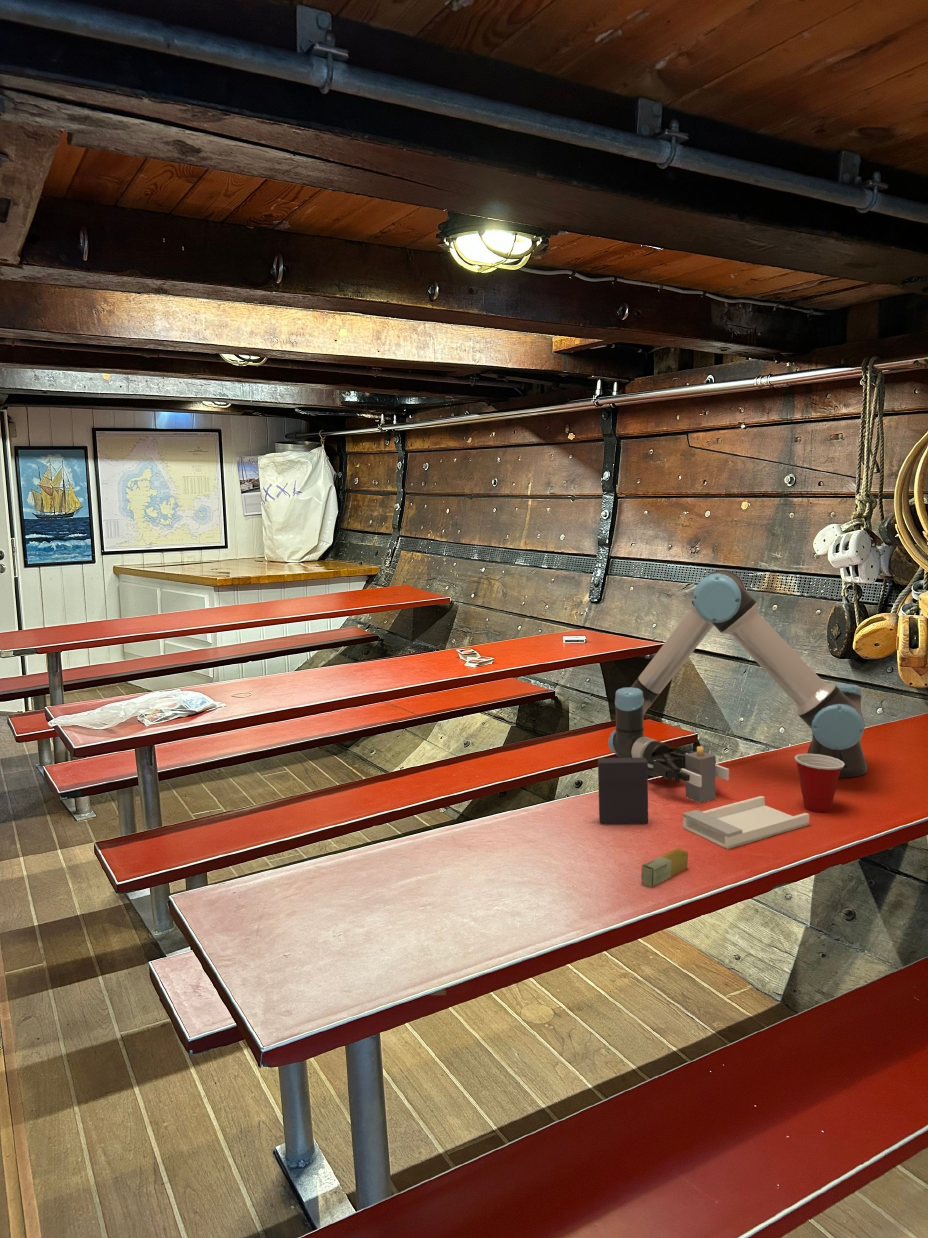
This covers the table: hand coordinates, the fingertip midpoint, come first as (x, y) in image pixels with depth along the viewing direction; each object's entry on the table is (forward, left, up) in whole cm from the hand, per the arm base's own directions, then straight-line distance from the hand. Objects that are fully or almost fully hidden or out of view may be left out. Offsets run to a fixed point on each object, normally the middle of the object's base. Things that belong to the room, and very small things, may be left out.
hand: (714, 778), depth 205 cm
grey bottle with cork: (0, -5, -7) cm, 8 cm away
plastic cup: (-18, +15, -7) cm, 25 cm away
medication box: (+35, +24, -7) cm, 43 cm away
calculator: (+25, -3, -7) cm, 26 cm away
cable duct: (+4, +14, -7) cm, 16 cm away
